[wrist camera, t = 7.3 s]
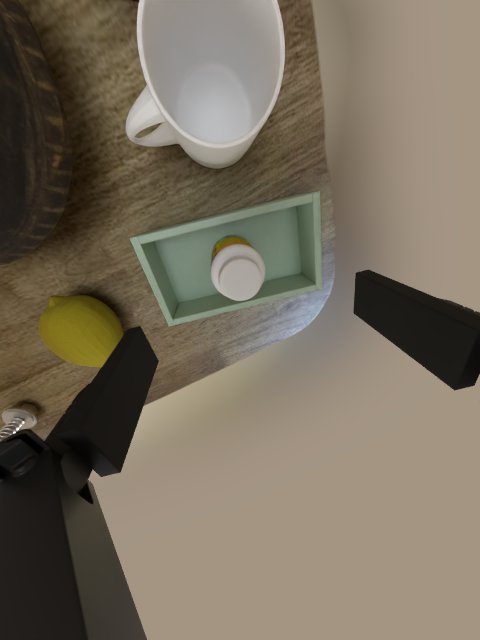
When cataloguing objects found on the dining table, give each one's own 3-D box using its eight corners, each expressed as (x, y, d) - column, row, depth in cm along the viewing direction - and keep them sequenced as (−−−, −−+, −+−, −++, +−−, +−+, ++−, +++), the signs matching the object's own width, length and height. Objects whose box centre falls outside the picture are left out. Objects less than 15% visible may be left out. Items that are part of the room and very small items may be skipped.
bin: (300, 193, 26) (320, 191, 21) (305, 275, 31) (322, 289, 26) (144, 232, 26) (129, 238, 21) (175, 307, 31) (168, 326, 26)
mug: (121, 99, 21) (44, 10, 11) (237, 39, 19) (259, -113, 10) (168, 195, 25) (140, 190, 15) (265, 150, 24) (300, 115, 14)
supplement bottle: (208, 235, 27) (206, 251, 18) (253, 232, 27) (272, 246, 18) (213, 278, 29) (213, 311, 20) (253, 275, 30) (270, 306, 21)
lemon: (48, 292, 28) (-6, 321, 21) (102, 274, 28) (66, 297, 21) (98, 353, 34) (68, 393, 27) (144, 338, 33) (126, 374, 26)
